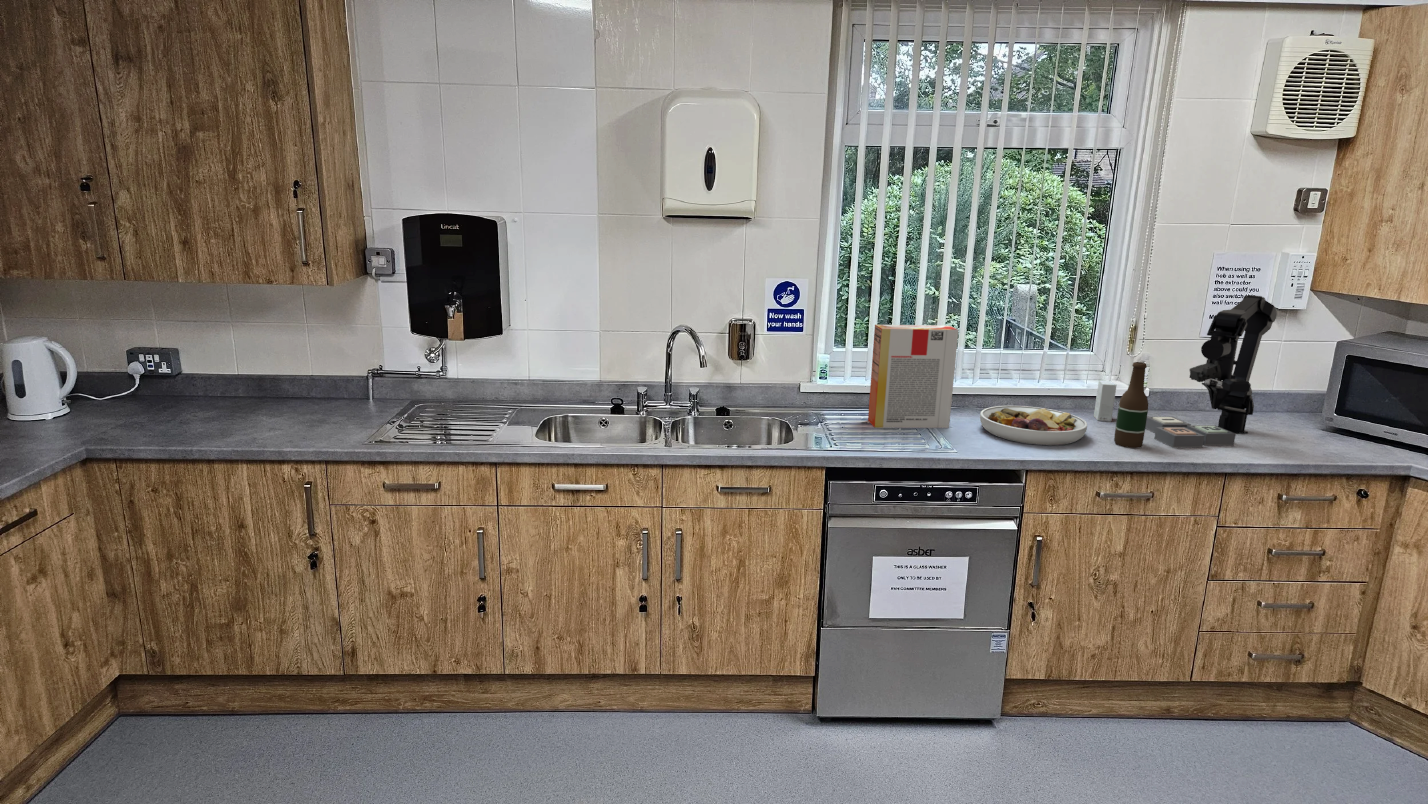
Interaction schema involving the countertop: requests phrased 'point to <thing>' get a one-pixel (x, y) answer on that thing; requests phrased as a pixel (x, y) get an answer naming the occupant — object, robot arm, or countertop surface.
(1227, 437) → the tile collars
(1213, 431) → the tile
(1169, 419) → the tile
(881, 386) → the pasta box
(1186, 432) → the tile
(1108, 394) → the skincare box
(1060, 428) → the bowl
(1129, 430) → the beer bottle
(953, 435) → the countertop surface
